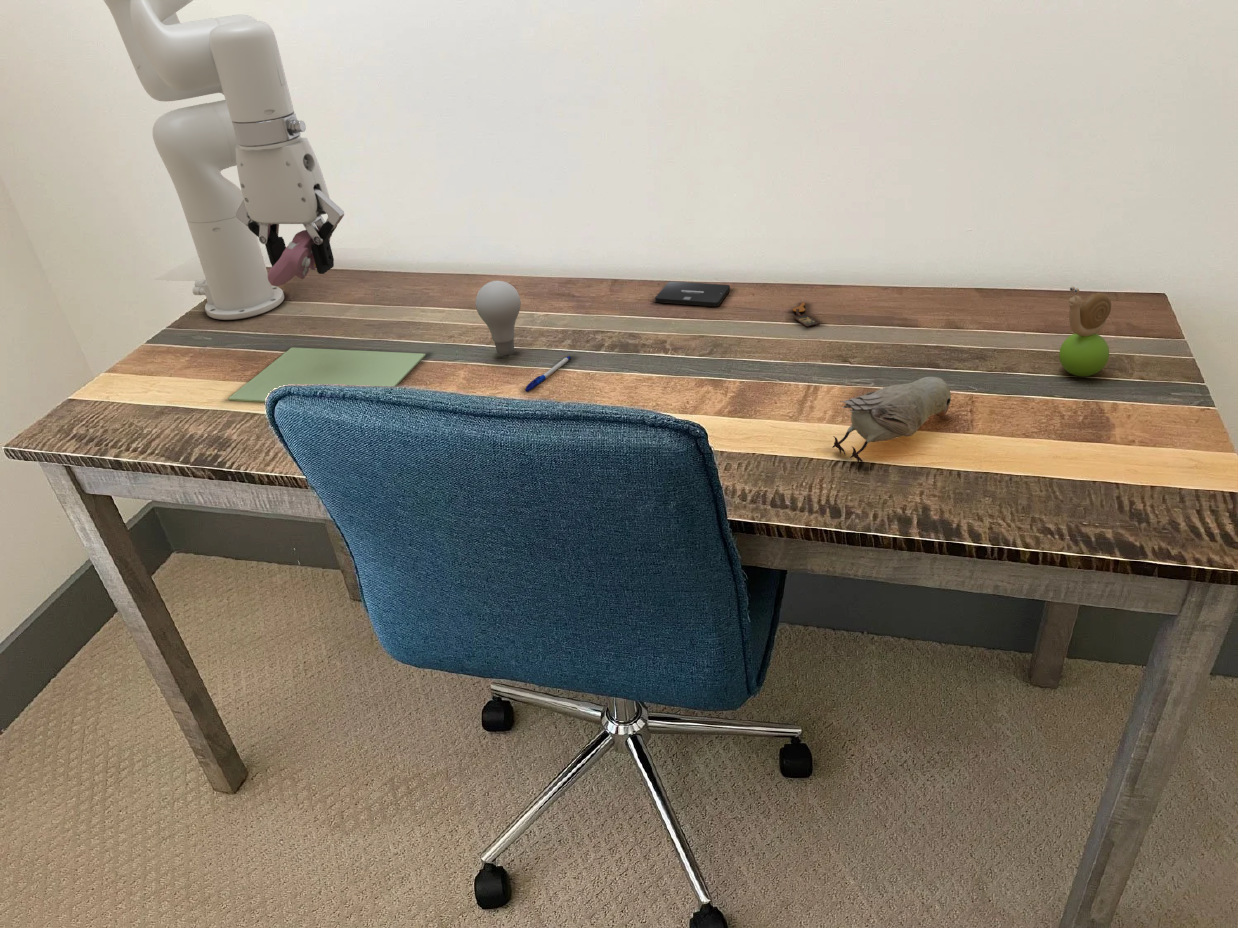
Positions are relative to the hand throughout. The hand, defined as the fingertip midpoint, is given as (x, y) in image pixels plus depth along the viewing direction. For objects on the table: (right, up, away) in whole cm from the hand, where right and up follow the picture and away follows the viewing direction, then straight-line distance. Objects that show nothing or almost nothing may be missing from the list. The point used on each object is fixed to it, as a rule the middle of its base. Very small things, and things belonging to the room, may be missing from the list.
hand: (303, 268), depth 129 cm
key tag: (+69, -5, +10) cm, 70 cm away
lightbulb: (+26, -11, +7) cm, 29 cm away
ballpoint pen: (+33, -14, +1) cm, 36 cm away
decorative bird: (+73, -23, -20) cm, 79 cm away
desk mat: (+2, -14, +6) cm, 15 cm away
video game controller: (0, -1, +1) cm, 1 cm away
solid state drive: (+53, 0, +20) cm, 57 cm away
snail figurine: (+98, -15, -11) cm, 100 cm away
